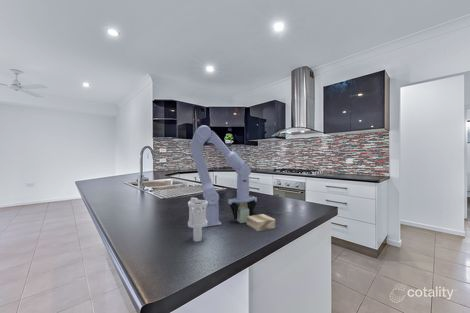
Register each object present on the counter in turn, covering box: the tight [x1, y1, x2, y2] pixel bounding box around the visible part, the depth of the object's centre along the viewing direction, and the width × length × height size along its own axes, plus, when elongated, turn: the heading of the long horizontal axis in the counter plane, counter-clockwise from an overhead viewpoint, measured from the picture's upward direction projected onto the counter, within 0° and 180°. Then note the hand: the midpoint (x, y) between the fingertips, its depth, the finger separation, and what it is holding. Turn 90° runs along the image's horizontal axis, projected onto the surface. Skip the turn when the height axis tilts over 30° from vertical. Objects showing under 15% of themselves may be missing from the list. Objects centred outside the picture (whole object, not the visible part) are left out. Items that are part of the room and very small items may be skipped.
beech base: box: [246, 213, 277, 232], centre depth 88 cm, size 9×9×4 cm
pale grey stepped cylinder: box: [187, 197, 208, 242], centre depth 73 cm, size 7×7×15 cm
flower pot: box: [239, 195, 255, 208], centre depth 108 cm, size 9×9×9 cm
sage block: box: [235, 206, 249, 224], centre depth 95 cm, size 4×4×6 cm
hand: (242, 217), depth 95 cm, fingers open, 7 cm apart
